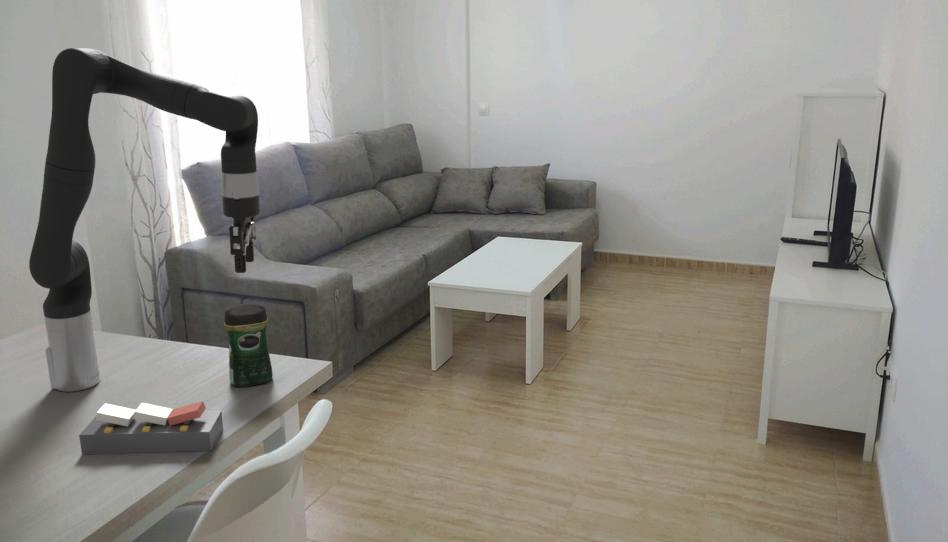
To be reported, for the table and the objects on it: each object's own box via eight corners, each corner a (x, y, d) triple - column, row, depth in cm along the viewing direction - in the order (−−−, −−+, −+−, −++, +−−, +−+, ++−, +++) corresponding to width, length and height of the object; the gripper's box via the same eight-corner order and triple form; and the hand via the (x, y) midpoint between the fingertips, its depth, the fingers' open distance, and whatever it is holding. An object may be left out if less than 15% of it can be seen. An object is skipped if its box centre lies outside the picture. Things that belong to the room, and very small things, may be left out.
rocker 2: (133, 419, 148) (134, 411, 148) (140, 409, 152) (141, 402, 152) (165, 425, 149) (166, 418, 149) (171, 416, 153) (173, 409, 152)
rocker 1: (95, 419, 148) (96, 412, 147) (103, 410, 152) (105, 403, 151) (127, 426, 149) (129, 419, 148) (135, 417, 152) (136, 409, 152)
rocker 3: (170, 425, 149) (167, 418, 149) (176, 416, 153) (173, 409, 152) (200, 417, 149) (197, 410, 149) (205, 408, 153) (202, 401, 152)
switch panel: (82, 454, 147) (78, 430, 146) (101, 431, 156) (97, 408, 154) (211, 450, 148) (209, 427, 147) (223, 428, 157) (221, 406, 156)
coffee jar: (270, 371, 185) (264, 296, 180) (274, 383, 178) (269, 307, 173) (228, 376, 182) (221, 301, 177) (230, 390, 175) (223, 312, 170)
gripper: (229, 187, 171) (234, 258, 175) (214, 199, 157) (219, 276, 162) (264, 187, 171) (268, 258, 176) (252, 199, 158) (256, 276, 162)
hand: (244, 266), depth 169 cm, fingers open, 8 cm apart
